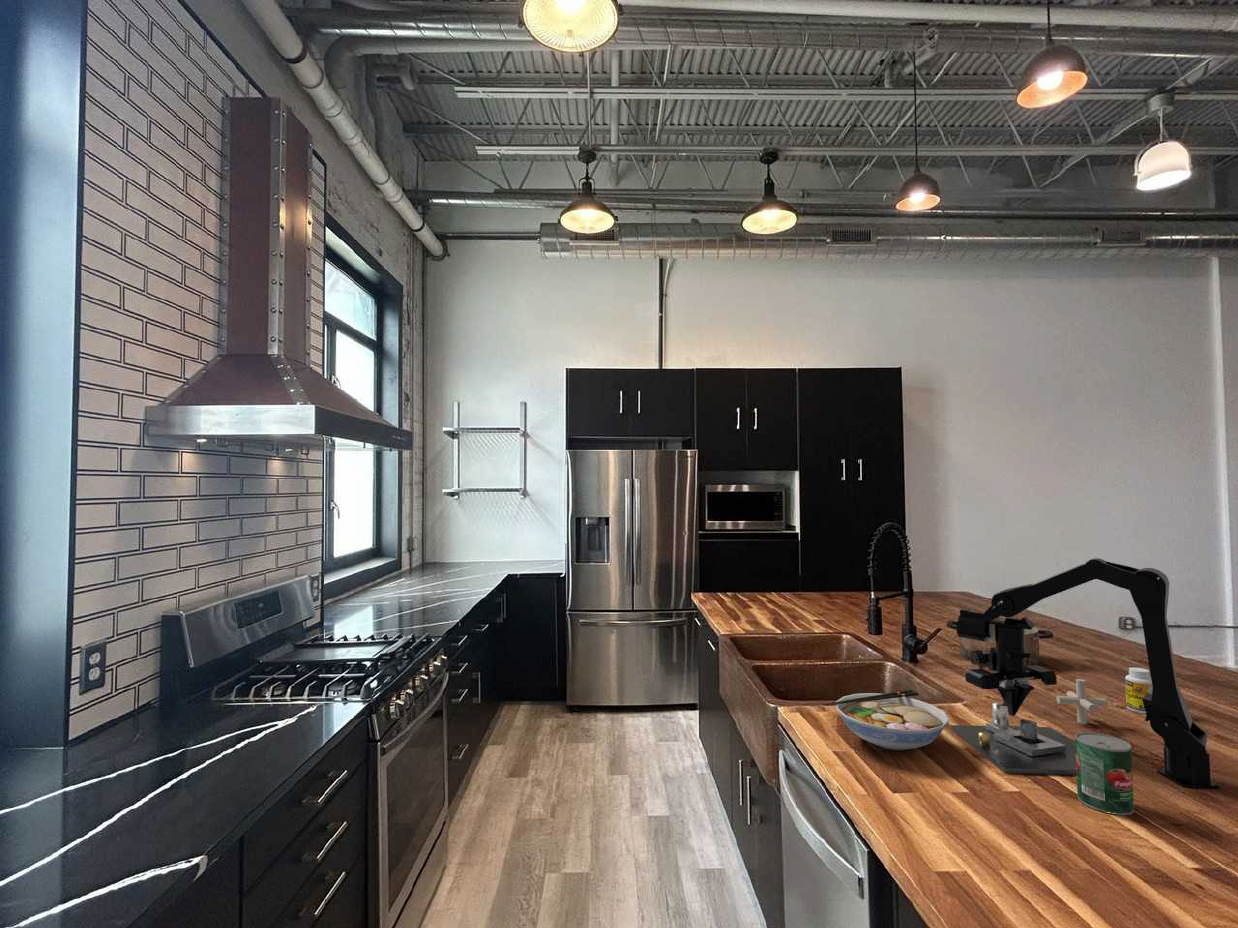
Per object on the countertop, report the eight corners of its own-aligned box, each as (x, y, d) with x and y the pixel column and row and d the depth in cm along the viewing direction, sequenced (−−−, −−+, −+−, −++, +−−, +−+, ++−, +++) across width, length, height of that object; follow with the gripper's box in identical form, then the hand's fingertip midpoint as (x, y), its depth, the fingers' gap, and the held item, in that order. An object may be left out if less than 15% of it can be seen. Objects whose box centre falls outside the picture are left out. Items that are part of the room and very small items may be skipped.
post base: (1123, 776, 118) (1121, 744, 118) (1005, 773, 119) (1004, 742, 119) (1050, 731, 140) (1049, 705, 140) (951, 729, 141) (950, 703, 141)
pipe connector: (1118, 732, 139) (1117, 688, 139) (1069, 729, 141) (1068, 685, 141) (1094, 716, 149) (1092, 675, 149) (1048, 713, 151) (1047, 672, 151)
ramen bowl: (877, 775, 119) (876, 732, 119) (811, 730, 141) (810, 694, 141) (980, 759, 126) (979, 719, 126) (901, 719, 148) (900, 685, 148)
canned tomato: (1078, 788, 113) (1076, 728, 113) (1133, 802, 108) (1131, 739, 108) (1076, 805, 107) (1073, 742, 107) (1134, 821, 102) (1131, 754, 102)
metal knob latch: (1066, 751, 126) (1065, 720, 126) (1031, 756, 124) (1030, 725, 124) (1007, 726, 140) (1006, 698, 140) (975, 730, 138) (974, 702, 138)
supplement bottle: (1120, 708, 154) (1119, 667, 155) (1136, 705, 156) (1134, 665, 156) (1145, 716, 149) (1143, 673, 149) (1161, 713, 151) (1159, 671, 151)
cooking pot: (943, 660, 199) (942, 627, 200) (950, 645, 218) (949, 615, 219) (1056, 674, 183) (1054, 638, 184) (1052, 657, 202) (1051, 625, 202)
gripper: (1018, 634, 147) (1019, 699, 147) (948, 638, 144) (949, 705, 144) (1057, 647, 136) (1059, 717, 136) (982, 651, 133) (984, 723, 133)
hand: (1011, 715), depth 137 cm, fingers closed
